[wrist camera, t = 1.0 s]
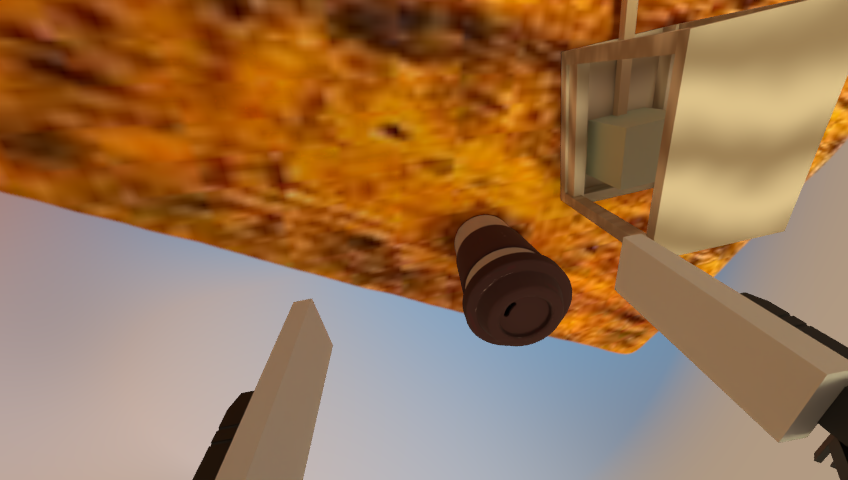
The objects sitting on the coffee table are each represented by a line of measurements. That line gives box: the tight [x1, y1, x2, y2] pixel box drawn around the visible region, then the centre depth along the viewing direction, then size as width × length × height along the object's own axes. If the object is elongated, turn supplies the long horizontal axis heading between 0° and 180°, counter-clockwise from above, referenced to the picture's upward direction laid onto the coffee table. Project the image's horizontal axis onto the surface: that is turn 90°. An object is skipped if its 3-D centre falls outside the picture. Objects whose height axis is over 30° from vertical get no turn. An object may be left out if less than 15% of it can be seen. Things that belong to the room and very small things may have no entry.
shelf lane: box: [561, 0, 848, 255], centre depth 27 cm, size 16×11×15 cm
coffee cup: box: [455, 215, 572, 346], centre depth 33 cm, size 10×10×15 cm
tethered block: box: [586, 0, 666, 190], centre depth 28 cm, size 22×6×8 cm, turn 12°
